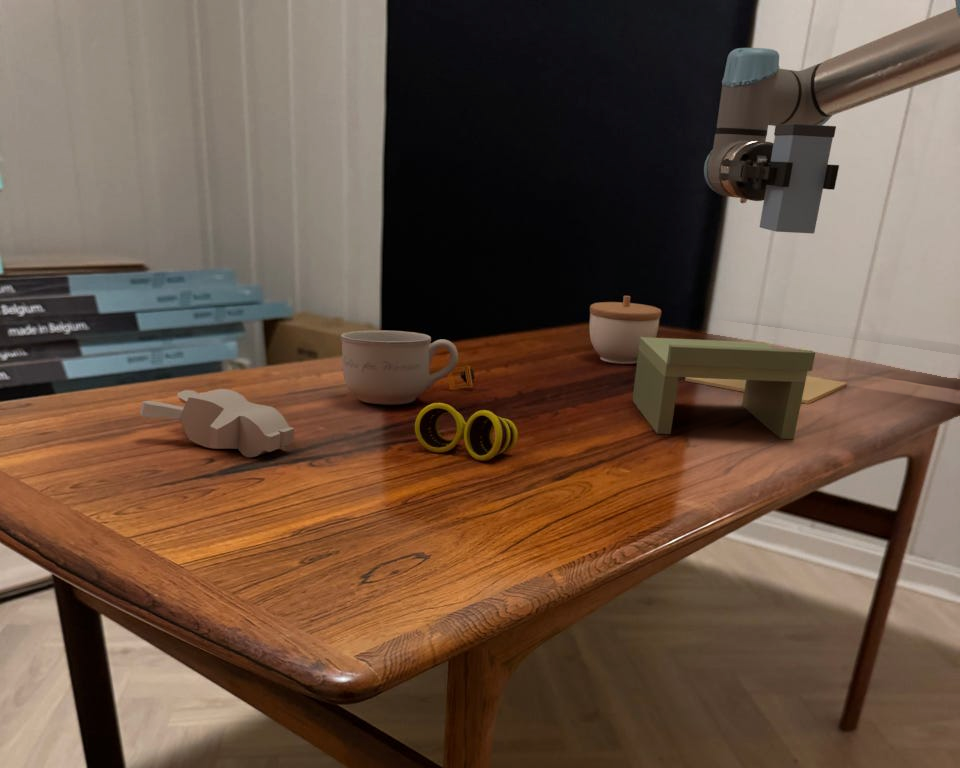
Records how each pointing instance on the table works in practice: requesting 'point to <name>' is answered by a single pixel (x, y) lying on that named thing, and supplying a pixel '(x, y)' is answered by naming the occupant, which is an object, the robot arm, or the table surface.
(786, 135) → the dark-capped grey pillar
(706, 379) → the mat
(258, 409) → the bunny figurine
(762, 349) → the stool
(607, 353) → the trinket box
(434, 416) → the opera glasses
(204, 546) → the table surface
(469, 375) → the framed picture
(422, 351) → the teacup
